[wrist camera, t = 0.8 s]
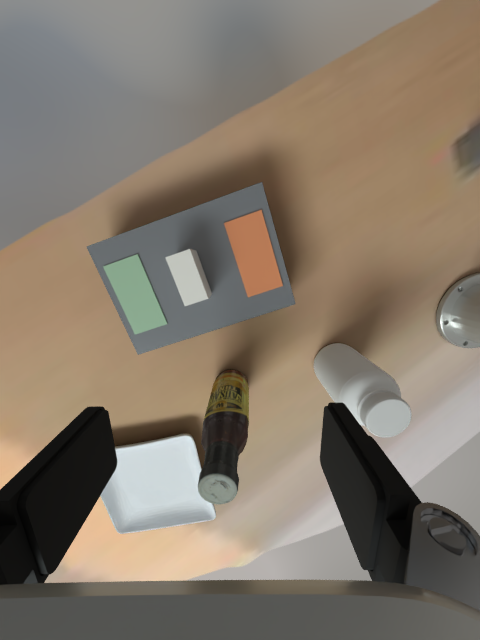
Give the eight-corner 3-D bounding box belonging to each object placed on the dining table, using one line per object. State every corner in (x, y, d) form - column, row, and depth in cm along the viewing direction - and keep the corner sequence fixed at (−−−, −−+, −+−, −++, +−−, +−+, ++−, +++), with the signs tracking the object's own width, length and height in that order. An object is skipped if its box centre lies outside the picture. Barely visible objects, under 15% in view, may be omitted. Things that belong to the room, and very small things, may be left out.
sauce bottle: (243, 364, 41) (247, 457, 21) (251, 394, 42) (261, 506, 23) (208, 372, 41) (180, 470, 22) (217, 401, 42) (198, 518, 23)
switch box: (258, 195, 34) (262, 181, 28) (286, 297, 38) (295, 304, 32) (111, 249, 36) (85, 246, 30) (153, 340, 39) (137, 355, 33)
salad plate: (219, 504, 49) (217, 521, 46) (124, 519, 50) (116, 537, 47) (195, 421, 44) (191, 434, 41) (90, 439, 45) (78, 454, 42)
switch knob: (196, 250, 30) (189, 248, 26) (212, 294, 31) (208, 298, 27) (174, 258, 30) (165, 257, 26) (191, 300, 31) (184, 306, 27)
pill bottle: (366, 364, 41) (436, 422, 26) (329, 390, 42) (376, 459, 27) (341, 332, 39) (401, 374, 25) (303, 360, 40) (339, 416, 26)
